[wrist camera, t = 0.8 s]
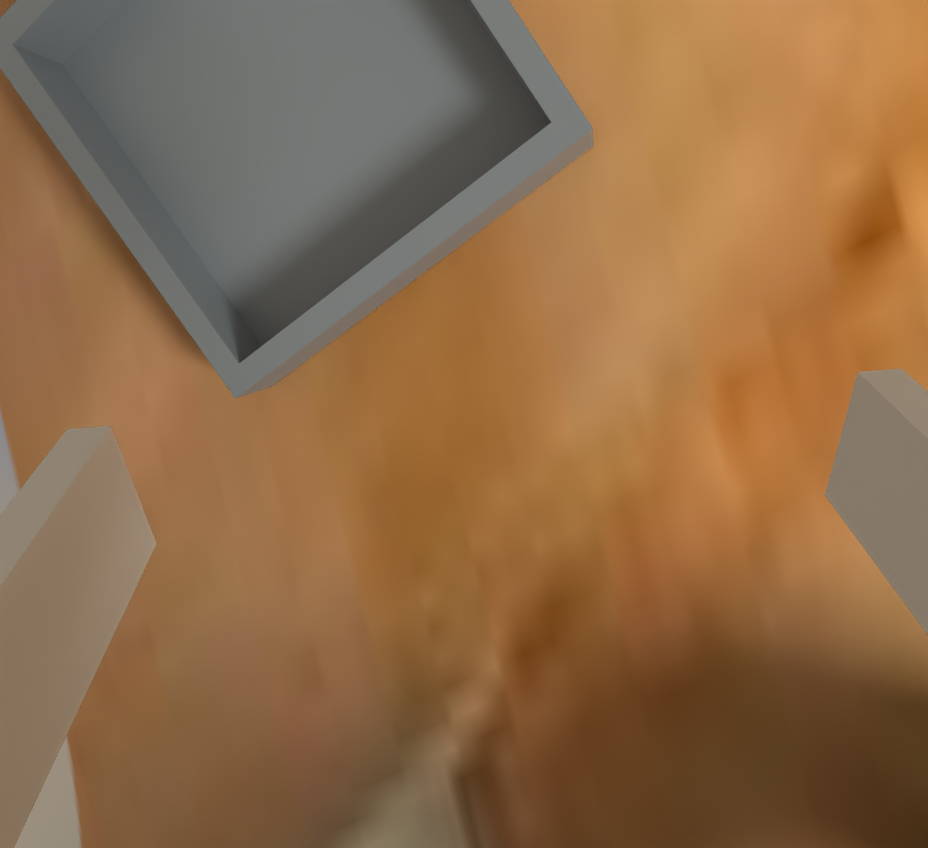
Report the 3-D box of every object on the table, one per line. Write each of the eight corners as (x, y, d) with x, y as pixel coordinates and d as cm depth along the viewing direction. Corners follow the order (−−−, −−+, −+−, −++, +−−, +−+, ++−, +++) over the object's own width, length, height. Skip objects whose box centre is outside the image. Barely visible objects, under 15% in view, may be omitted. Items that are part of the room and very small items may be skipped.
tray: (593, 145, 33) (593, 128, 29) (272, 386, 38) (235, 398, 34) (340, -237, 32) (305, -308, 28) (44, 64, 37) (-21, 39, 33)
